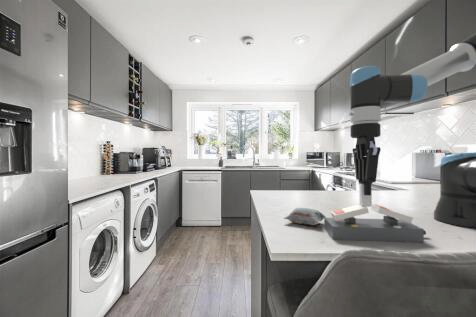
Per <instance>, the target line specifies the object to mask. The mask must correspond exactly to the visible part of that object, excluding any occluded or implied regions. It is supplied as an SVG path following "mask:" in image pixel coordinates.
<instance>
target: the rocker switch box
mask: <svg viewBox="0 0 476 317" xmlns="http://www.w3.org/2000/svg"><path fill="white" fill-rule="evenodd" d="M323 220H324V221H323V222H324V223H323V224H324V227H323V228H324V230H325V232H326V233H327V234H328V235H329V237H330V238H331V240H344V241H345V240H346V241H370V242H375V241H376V242H397V241H405V243H406V241H409V242H408V243H424V239H425V238H424V235H427V232H426V230H425V229H424V228H422V227H420V226H418V225H417V224H416V225H415V224H414V223H413V222H412V223H409V222H406V221H403V220H400V219H397V218H393V217H390V216H387V215H383V218H359V217H358V218H355V216H354V217H350V218H346V219H342V220H338V221H336V220H335V219H334V218H333V217H326V218H324V219H323Z"/></svg>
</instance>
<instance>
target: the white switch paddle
mask: <svg viewBox="0 0 476 317" xmlns="http://www.w3.org/2000/svg"><path fill="white" fill-rule="evenodd" d="M369 213H370V212H369V207H366V206H360V203H359V204H355V205H351V206H347V207H344V208H340V209H336V210H333V211H332V210H331V211H330V215H331V218H334V219H335V220H336V221H338V220H342V219H346V218H350V217H354V218H355V217H357V216H361V215H365V214H366V215H367V214H369Z"/></svg>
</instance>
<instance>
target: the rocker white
mask: <svg viewBox="0 0 476 317" xmlns="http://www.w3.org/2000/svg"><path fill="white" fill-rule="evenodd" d="M370 210H372V211H374V212H376V213H379V214H381V215H383V216H390V217H393V218H395V219H398V220H403V221H406V222H409V223H412V224H413V219H414V217H412V216H411V215H409V214H406V213H403V212H400V211H396V210H393V209H390V208H387V207H384V206H382V205H378V204H374V203H372V207H370Z"/></svg>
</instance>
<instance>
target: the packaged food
mask: <svg viewBox="0 0 476 317" xmlns="http://www.w3.org/2000/svg"><path fill="white" fill-rule="evenodd" d="M324 218H327V216H325V215H324V213H322V212H320V210H316V209H311V208H306V207H305V208H303V207H297V208H293V210H292V211H291V212H290V213H289V214H288V215H286V216H284V217H283V219H284V220H288V221H289V222H291V223H293V224H299V225H304V226H317V225H318V224H320V222H321V221H323V220H324Z"/></svg>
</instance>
